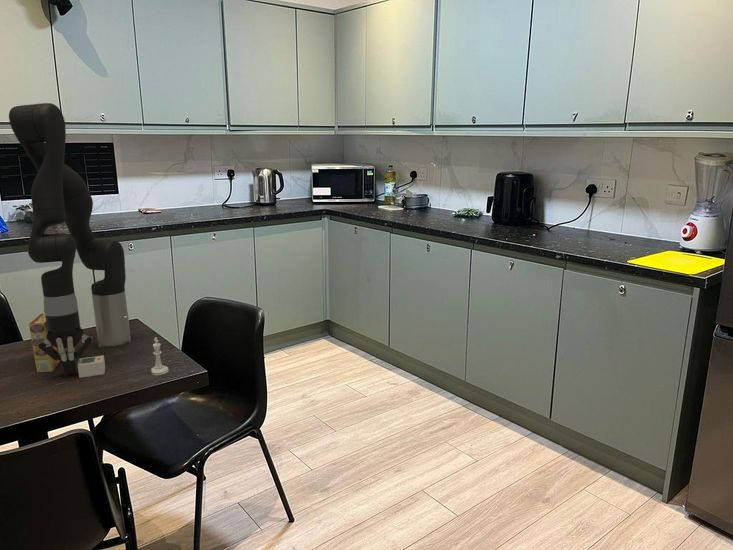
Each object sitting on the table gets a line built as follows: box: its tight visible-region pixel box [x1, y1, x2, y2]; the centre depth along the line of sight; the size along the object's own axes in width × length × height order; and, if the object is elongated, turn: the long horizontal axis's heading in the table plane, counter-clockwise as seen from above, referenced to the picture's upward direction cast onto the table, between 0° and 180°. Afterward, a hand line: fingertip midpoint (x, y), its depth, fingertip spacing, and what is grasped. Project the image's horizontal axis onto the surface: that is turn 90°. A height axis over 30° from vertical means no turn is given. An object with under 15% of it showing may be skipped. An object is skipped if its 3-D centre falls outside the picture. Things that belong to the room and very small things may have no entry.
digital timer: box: [77, 355, 106, 379], centre depth 147 cm, size 6×5×4 cm
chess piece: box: [150, 336, 170, 376], centre depth 150 cm, size 5×5×10 cm
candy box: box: [28, 313, 62, 373], centre depth 150 cm, size 9×4×15 cm, turn 13°
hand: (70, 372), depth 145 cm, fingers closed
